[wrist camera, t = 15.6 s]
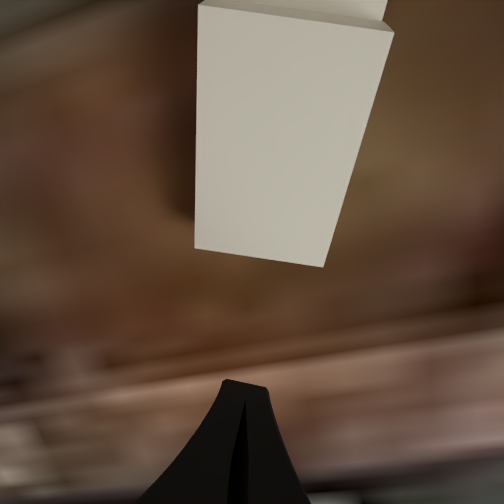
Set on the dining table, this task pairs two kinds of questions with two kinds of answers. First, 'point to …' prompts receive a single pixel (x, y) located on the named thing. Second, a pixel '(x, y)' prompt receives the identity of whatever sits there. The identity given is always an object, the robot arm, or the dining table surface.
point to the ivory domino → (279, 125)
